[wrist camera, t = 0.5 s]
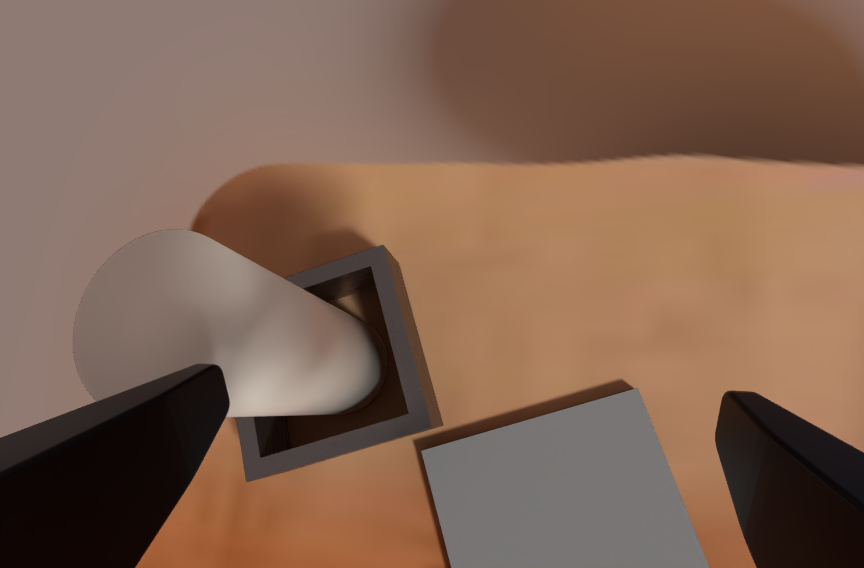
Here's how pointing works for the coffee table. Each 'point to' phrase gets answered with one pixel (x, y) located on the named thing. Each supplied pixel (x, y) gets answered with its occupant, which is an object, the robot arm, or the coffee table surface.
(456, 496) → the slate mat
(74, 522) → the robot arm
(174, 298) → the white plug
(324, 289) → the grey square tray
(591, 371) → the coffee table surface
